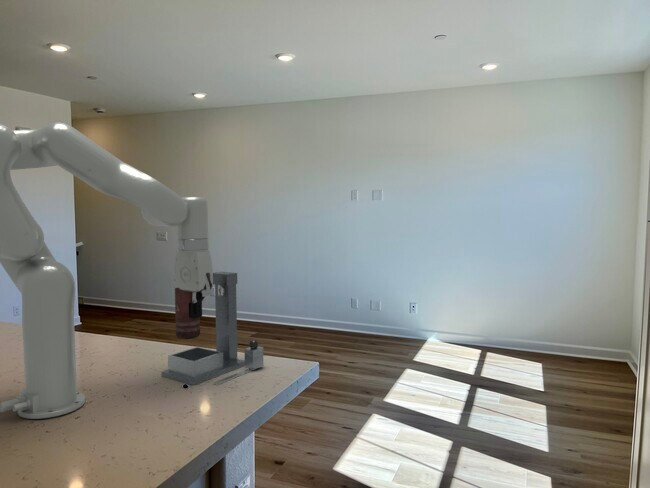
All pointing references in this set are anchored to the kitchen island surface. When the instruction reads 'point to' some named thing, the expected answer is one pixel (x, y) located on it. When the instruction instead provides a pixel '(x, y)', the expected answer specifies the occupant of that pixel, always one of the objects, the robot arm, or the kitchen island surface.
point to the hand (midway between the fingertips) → (195, 317)
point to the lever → (253, 355)
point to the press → (211, 363)
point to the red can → (185, 316)
